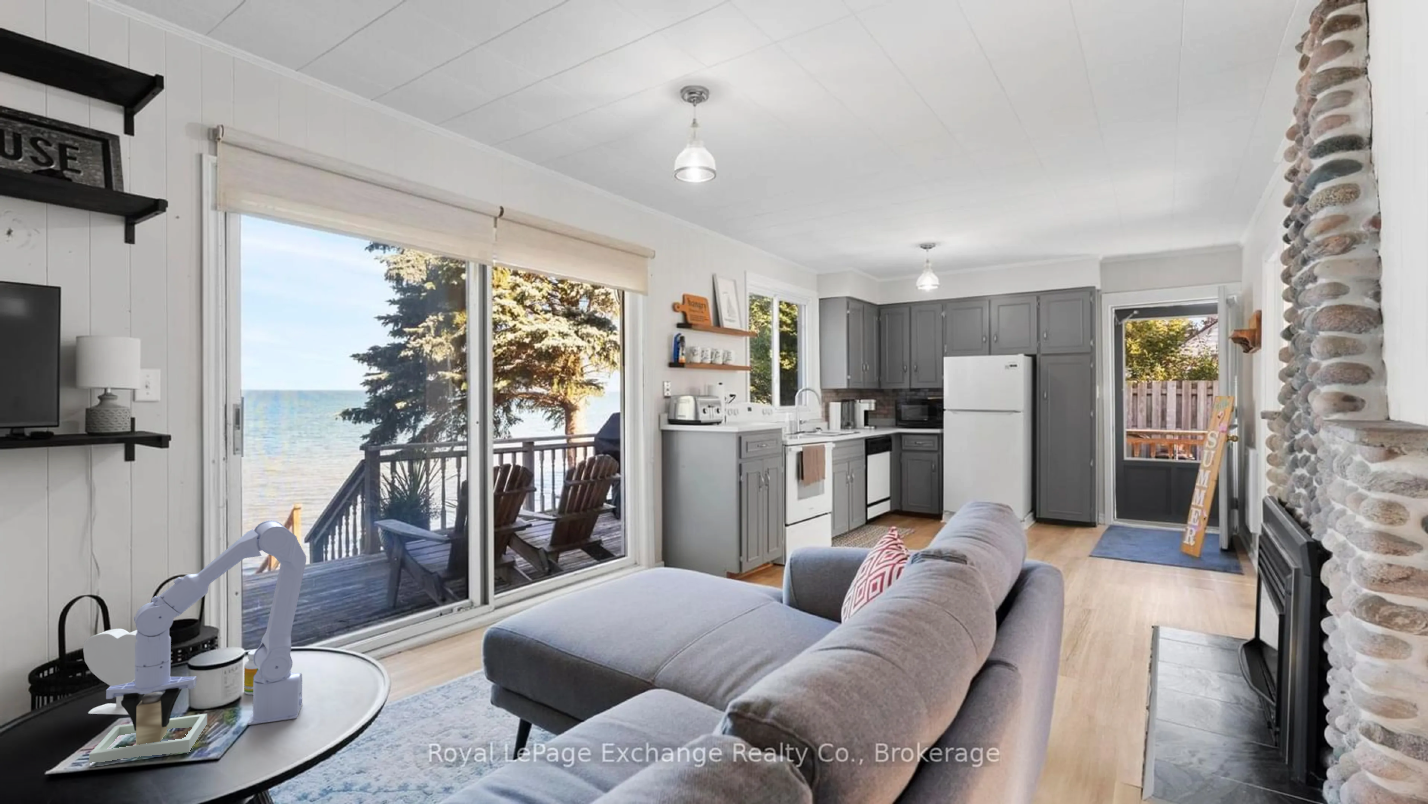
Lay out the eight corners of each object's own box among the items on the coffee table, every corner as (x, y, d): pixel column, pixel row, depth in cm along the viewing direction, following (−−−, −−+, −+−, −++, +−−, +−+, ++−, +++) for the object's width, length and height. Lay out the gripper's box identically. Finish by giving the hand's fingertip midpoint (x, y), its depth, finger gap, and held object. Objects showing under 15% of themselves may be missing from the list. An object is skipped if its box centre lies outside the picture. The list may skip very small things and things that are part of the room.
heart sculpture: (165, 704, 158) (166, 628, 158) (147, 714, 153) (148, 635, 153) (99, 703, 158) (100, 626, 158) (79, 713, 153) (80, 634, 153)
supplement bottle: (256, 696, 164) (257, 656, 164) (238, 693, 165) (239, 654, 165) (275, 686, 169) (276, 648, 169) (257, 684, 170) (258, 646, 170)
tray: (206, 725, 149) (207, 713, 149) (189, 752, 138) (189, 739, 138) (115, 738, 143) (115, 725, 143) (88, 768, 132) (89, 753, 132)
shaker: (167, 732, 143) (167, 689, 143) (160, 741, 139) (160, 697, 139) (143, 735, 141) (144, 692, 141) (135, 744, 138) (136, 700, 138)
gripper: (99, 673, 134) (98, 742, 134) (189, 664, 139) (188, 729, 139) (115, 660, 140) (114, 725, 140) (199, 651, 146) (199, 714, 146)
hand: (151, 726), depth 140 cm, fingers closed on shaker, 4 cm apart
